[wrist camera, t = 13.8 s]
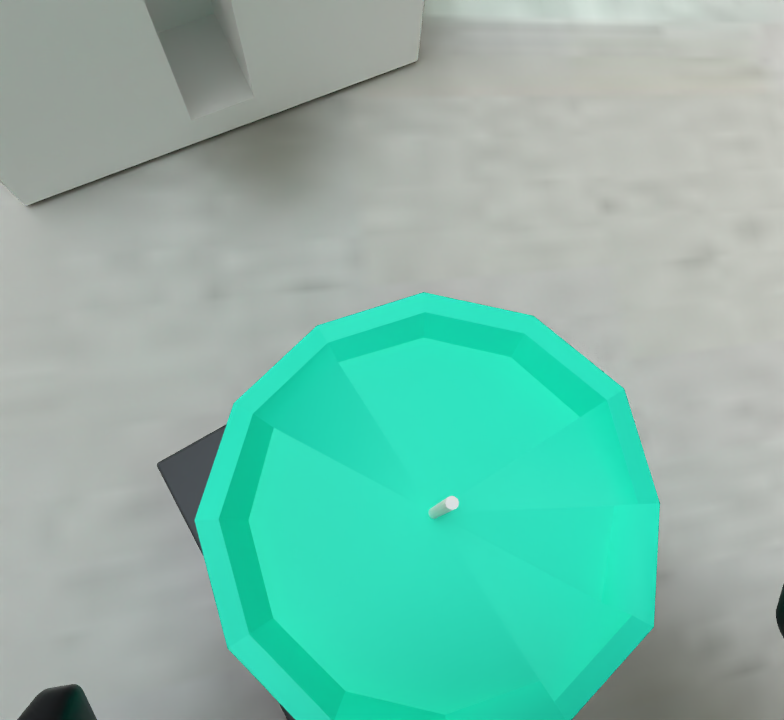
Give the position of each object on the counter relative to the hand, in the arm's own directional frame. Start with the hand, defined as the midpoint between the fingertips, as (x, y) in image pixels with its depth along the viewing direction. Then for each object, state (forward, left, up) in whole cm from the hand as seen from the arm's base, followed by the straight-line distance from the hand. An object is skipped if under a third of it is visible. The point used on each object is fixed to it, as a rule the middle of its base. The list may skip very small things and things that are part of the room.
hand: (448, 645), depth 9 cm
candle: (-1, -1, -10) cm, 10 cm away
